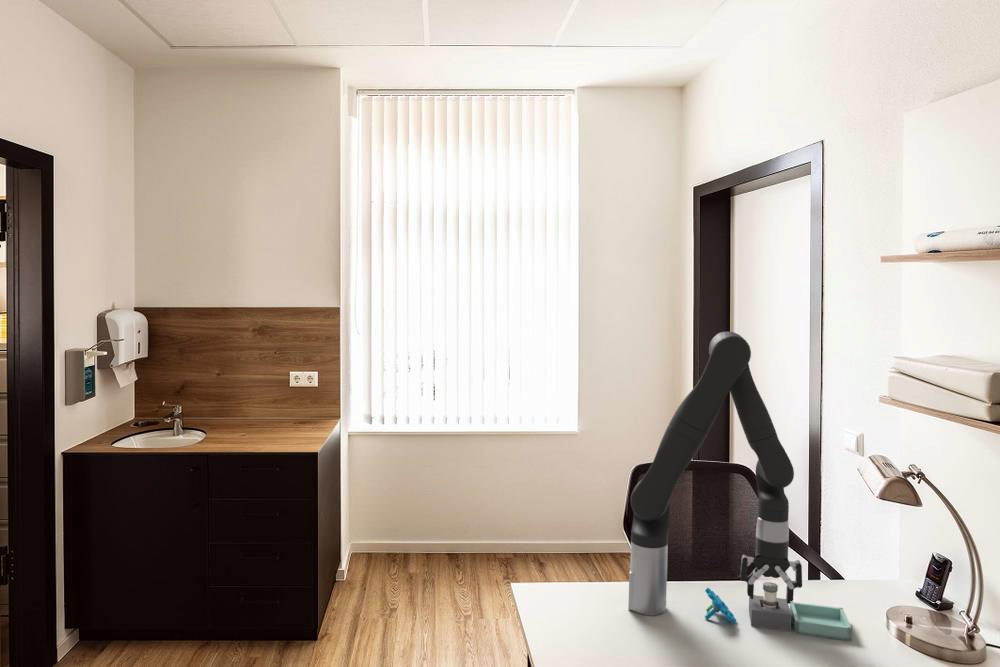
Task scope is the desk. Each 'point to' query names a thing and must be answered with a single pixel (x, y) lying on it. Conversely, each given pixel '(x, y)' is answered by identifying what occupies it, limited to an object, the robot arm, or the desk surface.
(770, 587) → the cylinder
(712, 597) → the blue plastic angular piece
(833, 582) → the desk surface
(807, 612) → the parts tray
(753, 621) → the block
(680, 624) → the desk surface
